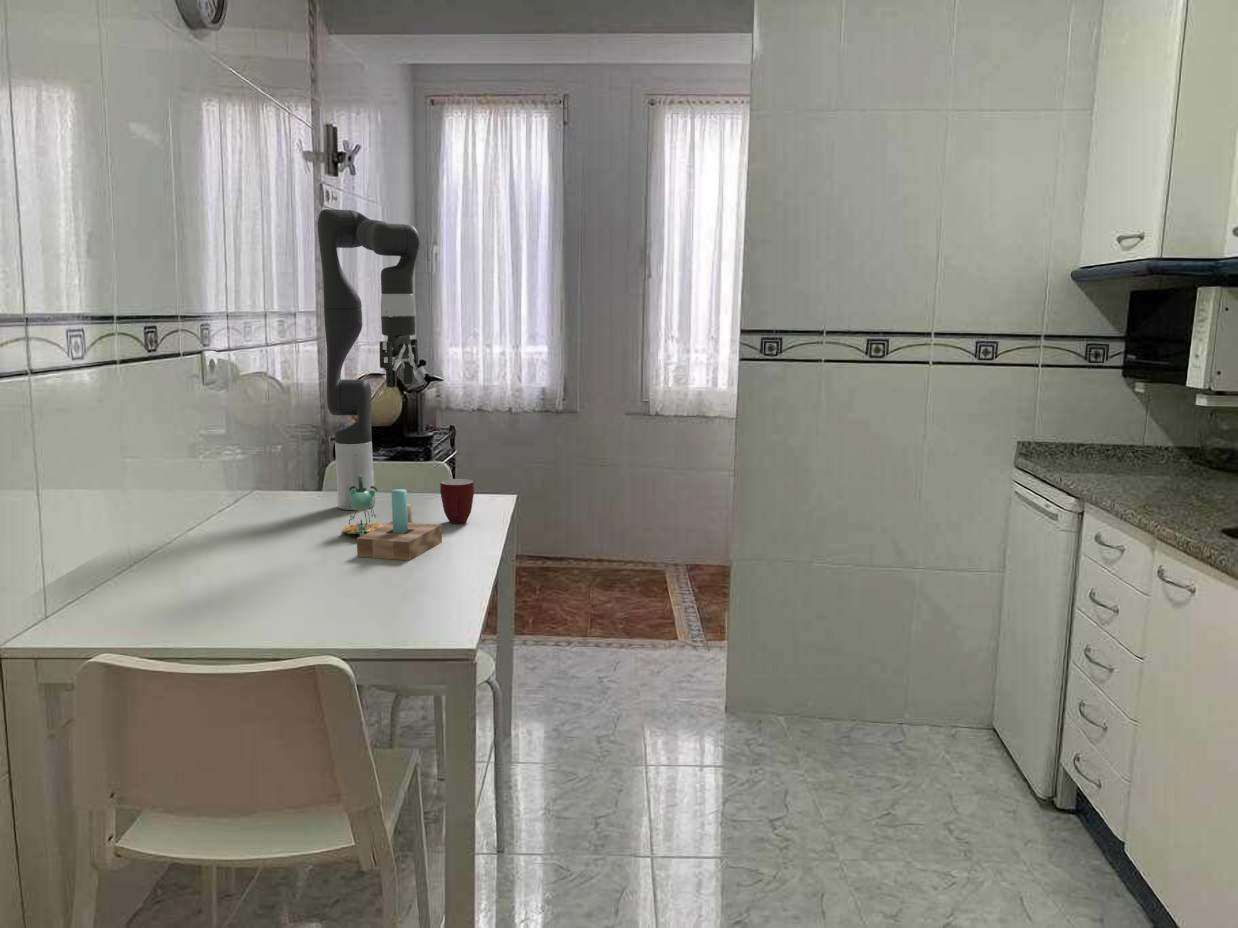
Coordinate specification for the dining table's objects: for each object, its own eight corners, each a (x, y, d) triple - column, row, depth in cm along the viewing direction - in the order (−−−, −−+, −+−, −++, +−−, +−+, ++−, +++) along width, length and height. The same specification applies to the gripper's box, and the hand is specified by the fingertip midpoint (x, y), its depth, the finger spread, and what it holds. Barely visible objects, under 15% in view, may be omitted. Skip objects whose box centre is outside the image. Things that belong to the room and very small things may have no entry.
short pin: (402, 532, 225) (400, 503, 224) (414, 533, 225) (413, 504, 223) (395, 536, 222) (394, 506, 221) (408, 536, 222) (407, 507, 220)
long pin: (397, 546, 213) (395, 488, 211) (411, 547, 212) (409, 489, 210) (390, 550, 210) (388, 491, 208) (404, 551, 209) (402, 492, 207)
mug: (474, 527, 231) (473, 486, 229) (440, 528, 229) (439, 487, 228) (474, 517, 241) (473, 478, 239) (441, 518, 240) (440, 479, 238)
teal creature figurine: (328, 543, 216) (327, 477, 215) (353, 533, 234) (351, 472, 233) (371, 543, 216) (370, 477, 215) (392, 533, 234) (391, 471, 233)
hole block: (393, 538, 220) (392, 521, 219) (441, 542, 217) (441, 524, 216) (357, 556, 205) (356, 538, 204) (409, 560, 202) (408, 542, 201)
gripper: (397, 313, 227) (399, 382, 230) (367, 314, 213) (370, 388, 216) (426, 314, 225) (428, 383, 228) (398, 315, 212) (400, 389, 214)
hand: (400, 385), depth 222 cm, fingers open, 8 cm apart
